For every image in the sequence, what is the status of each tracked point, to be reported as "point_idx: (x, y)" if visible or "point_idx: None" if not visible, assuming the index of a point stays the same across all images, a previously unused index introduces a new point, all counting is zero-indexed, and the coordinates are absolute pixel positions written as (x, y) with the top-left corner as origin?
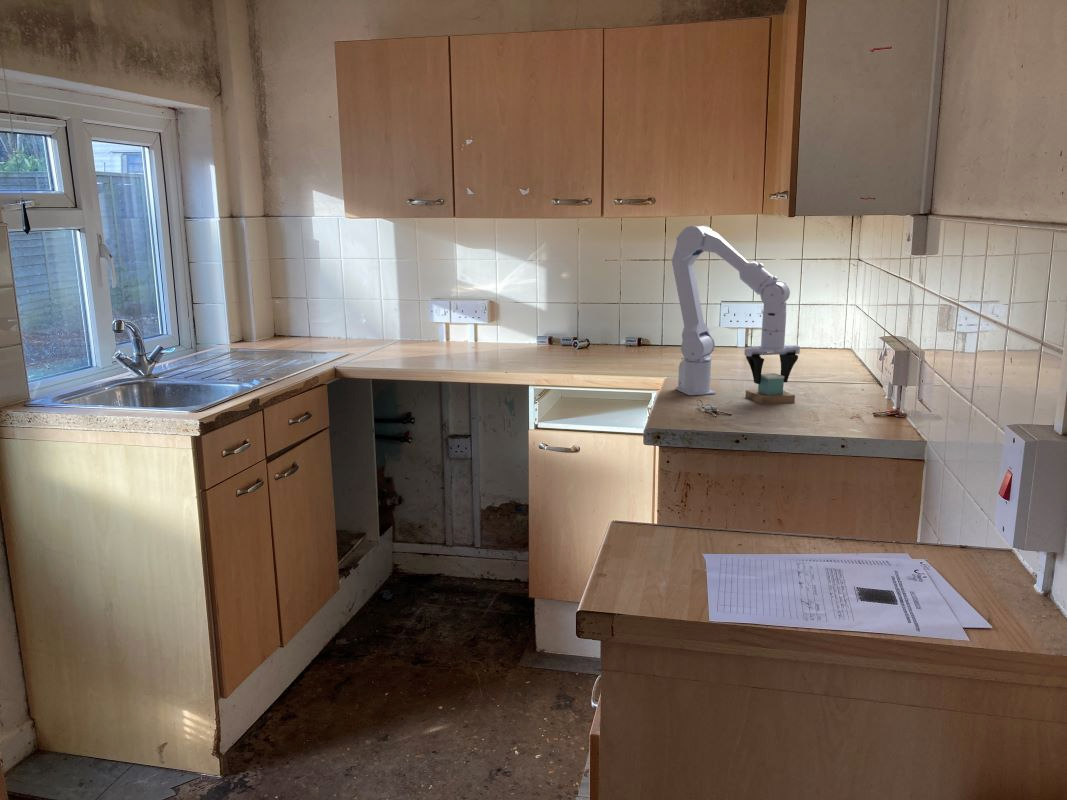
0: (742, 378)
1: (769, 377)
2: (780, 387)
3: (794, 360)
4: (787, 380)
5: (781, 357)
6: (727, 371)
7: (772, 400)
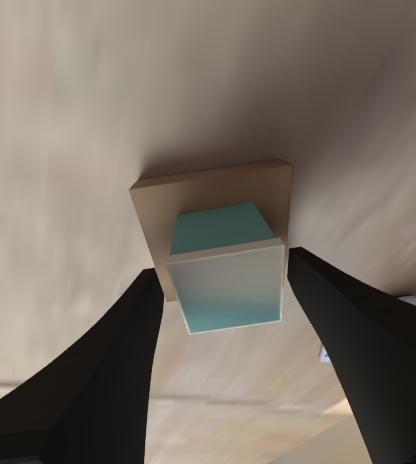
0: (189, 407)
1: (272, 245)
2: (189, 226)
3: (28, 394)
4: (139, 274)
5: (136, 453)
6: (195, 436)
7: (238, 168)
